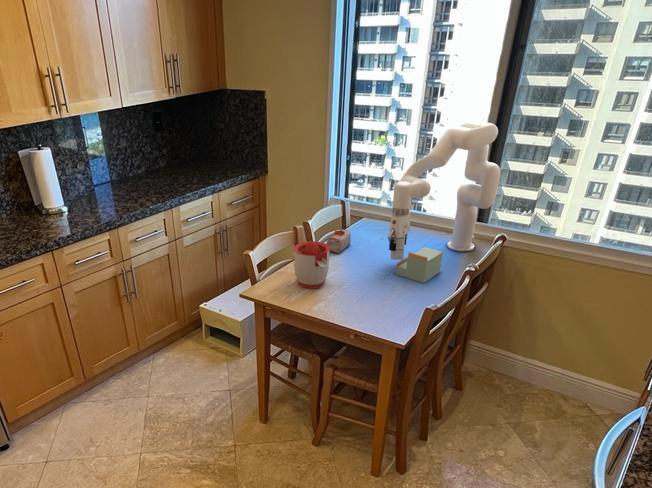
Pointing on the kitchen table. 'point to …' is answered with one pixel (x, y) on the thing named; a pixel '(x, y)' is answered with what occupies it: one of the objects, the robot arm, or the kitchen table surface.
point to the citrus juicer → (311, 263)
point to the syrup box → (399, 247)
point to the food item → (339, 241)
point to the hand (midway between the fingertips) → (397, 247)
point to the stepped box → (420, 265)
